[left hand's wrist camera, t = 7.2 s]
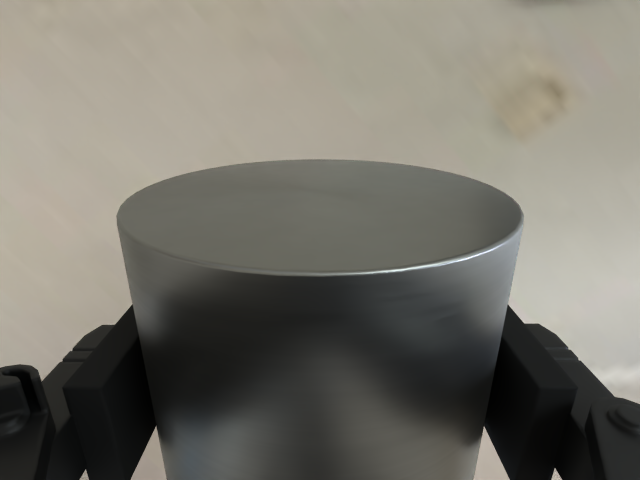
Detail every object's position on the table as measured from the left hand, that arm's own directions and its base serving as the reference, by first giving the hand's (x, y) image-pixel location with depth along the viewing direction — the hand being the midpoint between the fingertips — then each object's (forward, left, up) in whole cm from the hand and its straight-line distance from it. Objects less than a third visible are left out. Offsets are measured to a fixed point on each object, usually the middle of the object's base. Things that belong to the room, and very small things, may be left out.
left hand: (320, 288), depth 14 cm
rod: (+4, +6, 0) cm, 7 cm away
